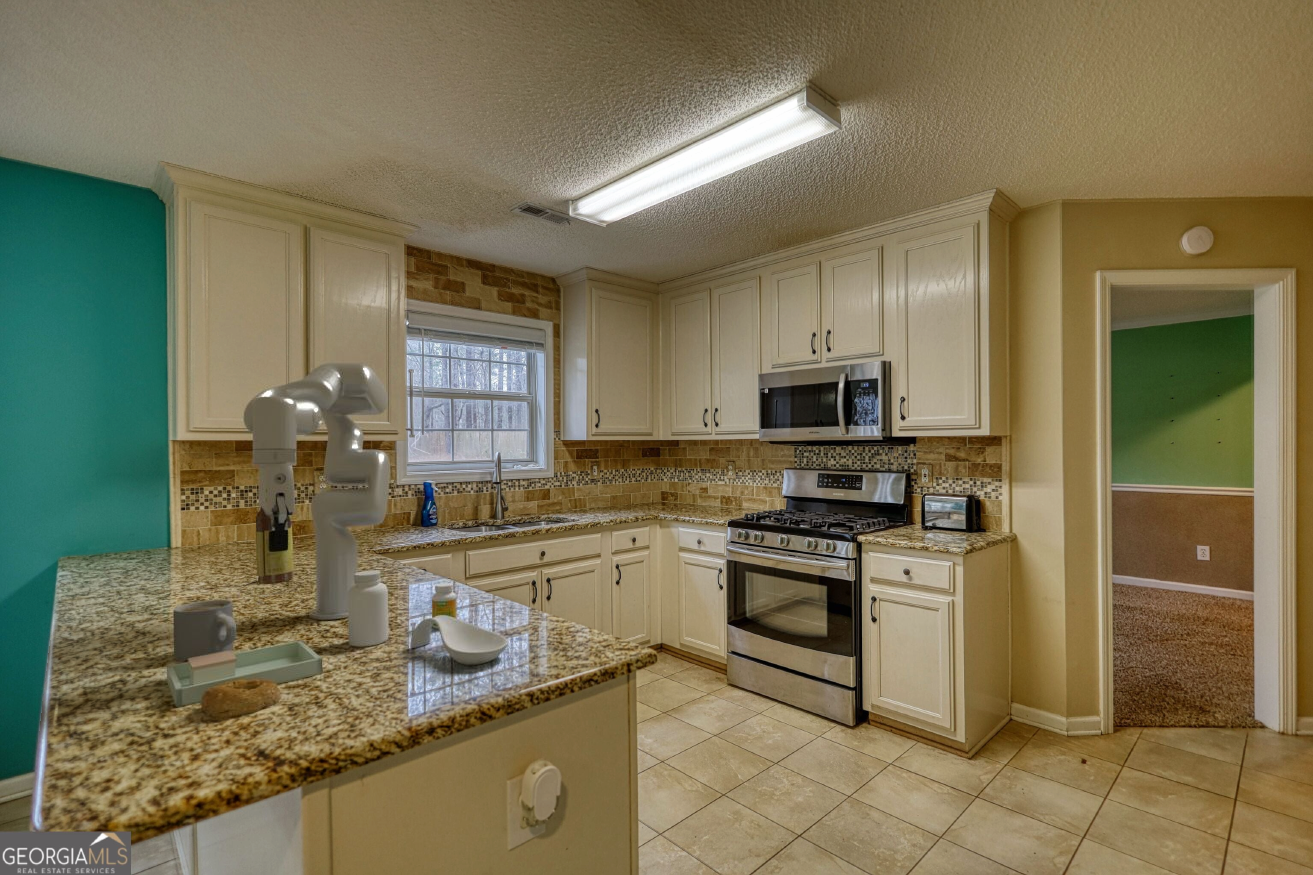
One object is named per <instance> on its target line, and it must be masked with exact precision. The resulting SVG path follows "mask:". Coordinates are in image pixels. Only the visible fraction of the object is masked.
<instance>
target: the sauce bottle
mask: <svg viewBox="0 0 1313 875" xmlns="http://www.w3.org/2000/svg"><path fill="white" fill-rule="evenodd" d="M272 510H273V508H272ZM273 514H278V512H277V513H273ZM292 522H293V521H292V520H291V517H290V515H288V512H287V523H288V550H287V551H278V552H270V551H269V531H271V527H270V517H268V516H266V515H265V512H264V510H263V508H262V507H261V509H260V511H258V512H257V514H256V516H255V551H256V553H255V555H256V556H255V557H256V576H257V582H258V584H261V585H262V584H263V585H275V584H283V583H287V582H290V581H292V580H293V578H294V549H293V548H294V544H293V542H294V541H293V524H292ZM274 523H275V519H274Z"/></svg>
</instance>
